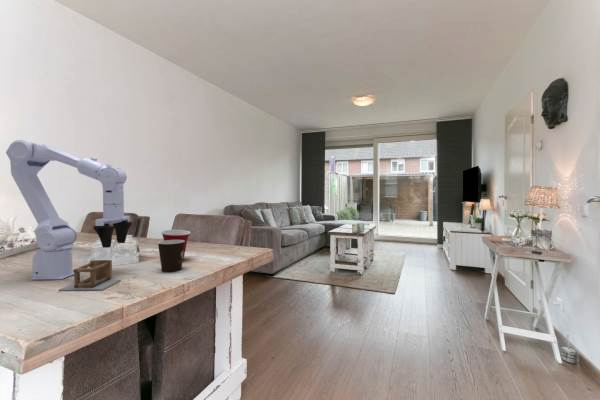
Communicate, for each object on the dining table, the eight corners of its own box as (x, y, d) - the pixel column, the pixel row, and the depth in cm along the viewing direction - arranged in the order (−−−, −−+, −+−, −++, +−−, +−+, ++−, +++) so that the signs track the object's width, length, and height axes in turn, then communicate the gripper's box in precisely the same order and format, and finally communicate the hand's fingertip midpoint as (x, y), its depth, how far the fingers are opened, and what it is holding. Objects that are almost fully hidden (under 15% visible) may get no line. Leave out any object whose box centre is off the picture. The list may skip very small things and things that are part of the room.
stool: (92, 278, 87) (73, 288, 79) (91, 260, 87) (71, 268, 79) (112, 278, 87) (94, 288, 79) (111, 259, 87) (93, 268, 79)
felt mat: (58, 291, 78) (58, 289, 78) (80, 281, 86) (80, 280, 86) (102, 290, 78) (102, 289, 78) (120, 280, 87) (120, 279, 87)
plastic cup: (180, 264, 106) (180, 233, 106) (155, 263, 108) (154, 232, 108) (196, 258, 117) (195, 229, 117) (172, 256, 119) (172, 228, 118)
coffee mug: (174, 274, 94) (174, 244, 94) (152, 272, 96) (152, 243, 96) (194, 265, 106) (194, 238, 105) (174, 263, 107) (174, 238, 107)
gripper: (111, 205, 85) (112, 249, 86) (137, 203, 100) (138, 241, 100) (88, 205, 85) (88, 249, 86) (117, 203, 100) (118, 241, 100)
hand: (114, 245), depth 93 cm, fingers open, 7 cm apart
